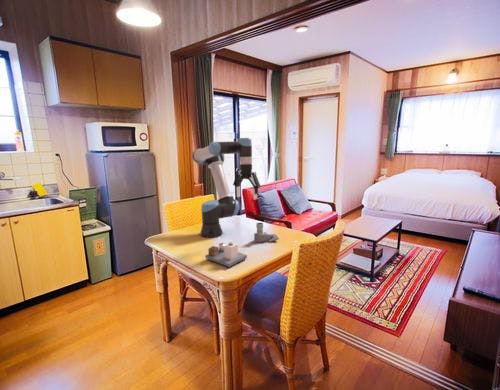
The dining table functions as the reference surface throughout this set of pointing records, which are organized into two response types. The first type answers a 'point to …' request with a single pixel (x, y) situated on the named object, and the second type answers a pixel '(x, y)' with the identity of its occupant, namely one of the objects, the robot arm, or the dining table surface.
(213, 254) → the walnut part
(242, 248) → the dining table surface
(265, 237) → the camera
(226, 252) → the plastic part
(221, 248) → the metal part
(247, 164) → the robot arm
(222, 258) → the grey flat block
